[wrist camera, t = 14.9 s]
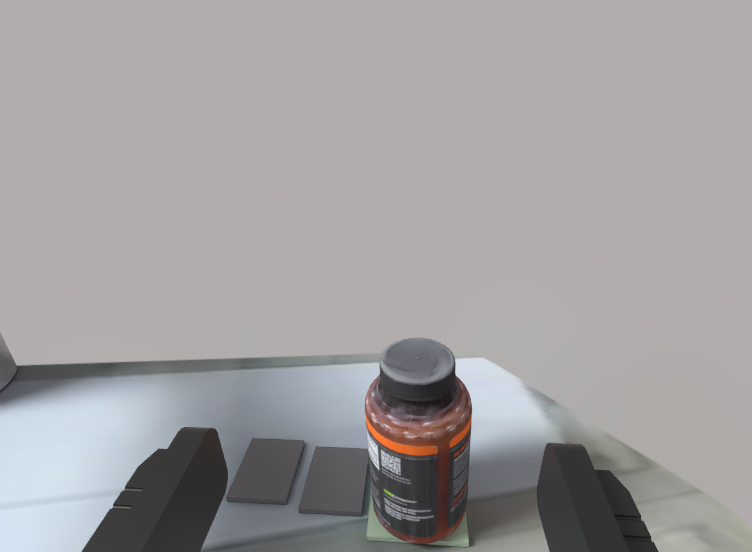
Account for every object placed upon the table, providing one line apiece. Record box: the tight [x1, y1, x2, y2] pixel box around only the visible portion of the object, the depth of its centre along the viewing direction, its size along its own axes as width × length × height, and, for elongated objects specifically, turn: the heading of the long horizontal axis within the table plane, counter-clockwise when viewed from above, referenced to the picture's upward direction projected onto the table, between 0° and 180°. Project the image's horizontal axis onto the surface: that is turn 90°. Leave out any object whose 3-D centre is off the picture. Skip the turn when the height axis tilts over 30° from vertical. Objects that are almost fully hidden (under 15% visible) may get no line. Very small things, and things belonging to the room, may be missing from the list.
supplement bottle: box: [365, 338, 472, 544], centre depth 25 cm, size 6×6×11 cm
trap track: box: [226, 438, 469, 547], centre depth 29 cm, size 16×7×1 cm, turn 85°
